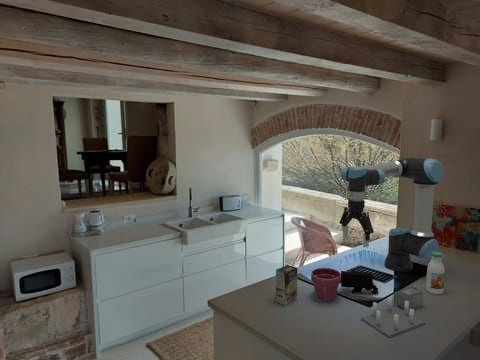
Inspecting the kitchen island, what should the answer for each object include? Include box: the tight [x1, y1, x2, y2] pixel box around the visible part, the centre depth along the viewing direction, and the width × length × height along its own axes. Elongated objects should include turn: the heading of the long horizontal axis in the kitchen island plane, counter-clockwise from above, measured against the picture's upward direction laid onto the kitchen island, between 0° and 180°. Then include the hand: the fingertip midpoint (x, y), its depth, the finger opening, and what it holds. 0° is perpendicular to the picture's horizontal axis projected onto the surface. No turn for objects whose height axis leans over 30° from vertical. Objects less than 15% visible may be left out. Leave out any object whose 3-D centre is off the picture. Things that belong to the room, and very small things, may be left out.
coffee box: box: [275, 264, 298, 306], centre depth 167 cm, size 9×6×16 cm
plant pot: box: [310, 267, 341, 303], centre depth 168 cm, size 14×14×13 cm
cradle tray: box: [360, 297, 426, 339], centre depth 147 cm, size 21×15×7 cm
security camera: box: [340, 270, 379, 295], centre depth 173 cm, size 7×18×10 cm, turn 78°
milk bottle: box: [425, 251, 446, 295], centre depth 172 cm, size 8×8×20 cm
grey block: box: [392, 286, 424, 312], centre depth 159 cm, size 12×6×7 cm, turn 115°
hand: (355, 242), depth 167 cm, fingers open, 13 cm apart
